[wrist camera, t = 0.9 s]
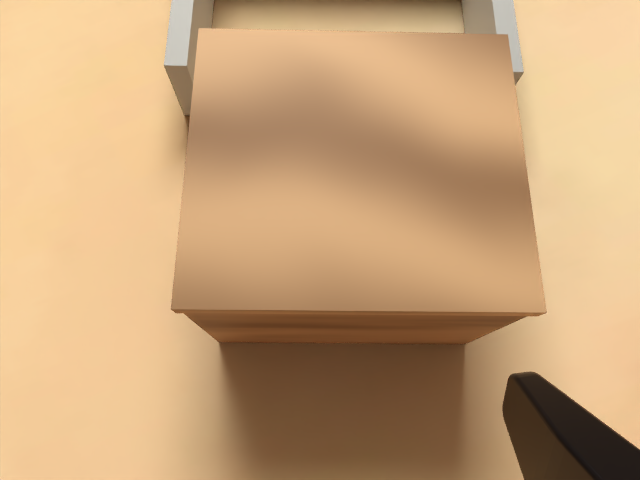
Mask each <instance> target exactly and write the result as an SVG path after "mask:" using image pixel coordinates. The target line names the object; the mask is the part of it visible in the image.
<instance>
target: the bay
mask: <svg viewBox="0 0 640 480" xmlns="http://www.w3.org/2000/svg"><path fill="white" fill-rule="evenodd" d="M461 2H462V12H463V21H464V31H465V33H466V34H508V38H509V45H510V53H511V60H512V67H513V74H514V82H515V85H516V83H517V82H518V80H519V79H520V77H521V76H522V74H523V72H524V71H523V64H522V57H521V50H520V44H519V37H518V30H517V23H516V16H515V9H514V3H513V0H461ZM213 6H214V0H172V3H171V11H170V19H169V28H168V36H167V44H166V53H165V61H164V67H165V69H166V72H167V74H168V76H169V79H170V81H171V84H172V86H173V89H174V91H175V94H176V96H177V98H178V101H179V103H180V106H181V108H182V111H183V113H184V115H190V111H191V101H192V91H193V80H194V70H195V60H196V50H197V40H198V30H199V28H212V17H213Z"/></svg>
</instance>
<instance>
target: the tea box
mask: <svg viewBox="0 0 640 480" xmlns="http://www.w3.org/2000/svg"><path fill="white" fill-rule="evenodd" d="M171 310H173V311H174V312H175V313H184V314H185V315H186V316H188V317H189V318H190V319H191V320H192V321H194V322H195V323H196V324H197V325H199V326H200V327H201V328H202V329H203V330H205V331H206V332H207V333H208V334H209V335H211V336H212V337H213V338H214V339H216V340H217V341H218V342H246V343H375V344H466V343H469V342H471V341H473V340H475V339H478V338H480V337H482V336H484V335H486V334H489V333H491V332H493V331H495V330H498V329H500V328H502V327H504V326H506V325H509V324H511V323H513V322H515V321H518V320H520V319H522V318H524V317H526V316H540V315H542V314H544V313H546V306H545V299H544V292H543V285H542V277H541V270H540V263H539V256H538V248H537V241H536V234H535V227H534V219H533V212H532V205H531V198H530V190H529V183H528V176H527V169H526V161H525V154H524V147H523V140H522V132H521V125H520V118H519V111H518V103H517V96H516V89H515V82H514V74H513V67H512V60H511V53H510V45H509V38H508V34H466V33H415V32H365V31H315V30H264V29H214V28H199V30H198V40H197V50H196V60H195V70H194V80H193V91H192V101H191V111H190V121H189V131H188V141H187V151H186V162H185V172H184V182H183V192H182V202H181V212H180V222H179V233H178V243H177V253H176V263H175V273H174V283H173V293H172V304H171Z"/></svg>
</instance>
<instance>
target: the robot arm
mask: <svg viewBox="0 0 640 480" xmlns="http://www.w3.org/2000/svg"><path fill="white" fill-rule="evenodd" d="M503 417H504V421H505V424H506V427H507V430H508V433H509V436H510V439H511V442H512V445H513V448H514V450H515V453H516V456H517V459H518V462H519V465H520V468H521V471H522V474H523V477H524V480H640V449H638V448H637V447H636V446H634V445H633V444H632V443H630V442H629V441H628V440H626V439H625V438H624V437H622V436H621V435H620V434H618V433H617V432H615V431H614V430H613V429H611V428H610V427H609V426H607V425H606V424H605V423H603V422H602V421H601V420H599V419H598V418H597V417H595V416H594V415H593V414H591V413H590V412H589V411H587V410H586V409H585V408H583V407H582V406H581V405H579V404H578V403H577V402H575V401H574V400H573V399H571V398H570V397H569V396H567V395H566V394H565V393H563V392H562V391H561V390H559V389H558V388H556V387H555V386H554V385H552V384H551V383H550V382H548V381H547V380H546V379H544V378H543V377H542V376H540V375H539V374H537V373H535V372H523V373H515V374H511V375H510V377H509V378H508V382H507V387H506V391H505V396H504V401H503Z"/></svg>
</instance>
